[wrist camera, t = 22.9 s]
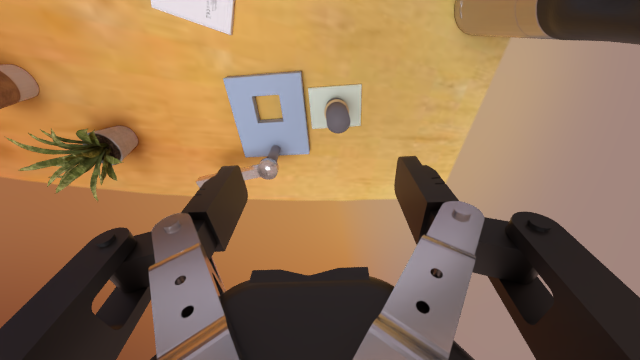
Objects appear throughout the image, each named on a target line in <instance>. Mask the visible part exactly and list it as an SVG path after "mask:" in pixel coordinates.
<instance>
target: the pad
mask: <svg viewBox="0 0 640 360" xmlns="http://www.w3.org/2000/svg"><path fill="white" fill-rule="evenodd" d="M361 88H362V84H352V85H338V86H325V87H311V88H308V92H309V102H310V112H311V123H312V129H318V128H328V127H327V121H326V118H325V115H324V110H325V107H326V104H327V102H328V101H329V100H330V99H332V98H341V99H342V100H343V101H344V102H345V103H346V104H347V106H348V108H349V116H350V126H361Z"/></svg>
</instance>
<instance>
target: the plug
mask: <svg viewBox="0 0 640 360" xmlns="http://www.w3.org/2000/svg"><path fill="white" fill-rule="evenodd" d="M324 115H325V118H326V121H327V127H328V128H329V130H330V131H332V132H334V133H342V132H344V131H346V130H347V129H348V128H349V126H350V116H349V108H348V106H347V104H346V103H345V102H344V101H343V100H342V99H341V98H332V99H330V100H329V101H328V102H327V104H326V107H325V110H324Z"/></svg>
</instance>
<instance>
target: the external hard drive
mask: <svg viewBox="0 0 640 360" xmlns="http://www.w3.org/2000/svg"><path fill="white" fill-rule="evenodd" d="M234 2H235V0H151V5H152V8H155V9H158V10H160V11H163V12H166V13H169V14H172V15H175V16H177V17H180V18H183V19H186V20H189V21H192V22H195V23H197V24H200V25H203V26H206V27H209V28H212V29H215V30H217V31H220V32H223V33H226V34H229V35H232V32H233V20H234Z"/></svg>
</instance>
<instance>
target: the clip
mask: <svg viewBox="0 0 640 360" xmlns="http://www.w3.org/2000/svg"><path fill="white" fill-rule="evenodd" d="M240 169H241V172H242V175H243V179H244V180H248V179H253V178H258V177H262V178H264V179H273V178H275V177H276V175H277V172H278V169H279V166H278V164H277V162H276V161H275V160H273V159H270V158H265V159H263V160H261V162H260V163H259V164H258V165H254V166H249V167H244V168H240ZM216 174H217V173H216ZM216 174H212V175H207V176H202V177H199V178H198V180H197V181H196V183H197V185H198V186H199V188H201V186H202V185H203V184H204V182H206V181H207V180H208V179H210V178H211V177H213V176H215V175H216Z"/></svg>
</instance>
